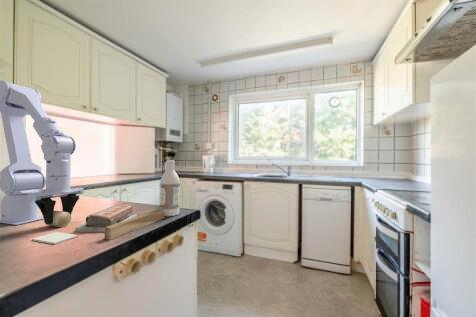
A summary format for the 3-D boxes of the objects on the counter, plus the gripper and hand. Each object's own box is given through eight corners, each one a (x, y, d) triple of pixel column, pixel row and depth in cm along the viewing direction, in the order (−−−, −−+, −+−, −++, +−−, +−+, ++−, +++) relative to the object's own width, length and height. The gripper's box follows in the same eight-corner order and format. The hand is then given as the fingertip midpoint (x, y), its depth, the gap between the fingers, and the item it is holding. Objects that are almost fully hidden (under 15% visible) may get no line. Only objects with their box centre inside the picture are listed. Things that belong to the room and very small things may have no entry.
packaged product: (110, 203, 81) (138, 203, 81) (110, 216, 81) (138, 217, 81) (74, 216, 63) (110, 216, 63) (74, 233, 63) (110, 234, 63)
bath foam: (156, 214, 84) (157, 160, 84) (173, 211, 89) (174, 160, 89) (165, 217, 79) (166, 160, 79) (182, 214, 84) (183, 160, 84)
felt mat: (32, 240, 56) (32, 238, 56) (56, 233, 61) (56, 231, 61) (54, 244, 54) (54, 242, 54) (78, 236, 59) (78, 235, 59)
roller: (49, 228, 68) (40, 218, 66) (62, 217, 71) (54, 207, 69) (61, 230, 67) (52, 220, 64) (74, 218, 70) (66, 208, 68)
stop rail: (104, 238, 58) (104, 227, 58) (159, 217, 79) (159, 209, 79) (110, 239, 57) (110, 228, 57) (164, 218, 78) (164, 209, 78)
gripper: (40, 178, 60) (39, 229, 60) (90, 174, 73) (90, 216, 73) (22, 177, 62) (21, 227, 62) (75, 174, 76) (74, 214, 76)
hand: (57, 221), depth 68 cm, fingers closed on roller, 4 cm apart
